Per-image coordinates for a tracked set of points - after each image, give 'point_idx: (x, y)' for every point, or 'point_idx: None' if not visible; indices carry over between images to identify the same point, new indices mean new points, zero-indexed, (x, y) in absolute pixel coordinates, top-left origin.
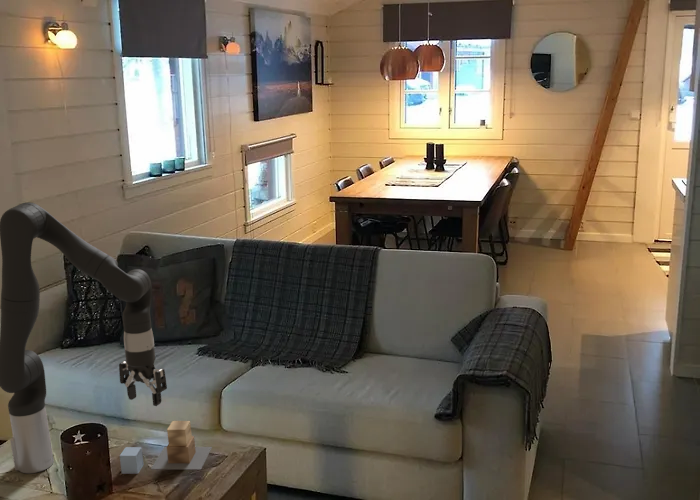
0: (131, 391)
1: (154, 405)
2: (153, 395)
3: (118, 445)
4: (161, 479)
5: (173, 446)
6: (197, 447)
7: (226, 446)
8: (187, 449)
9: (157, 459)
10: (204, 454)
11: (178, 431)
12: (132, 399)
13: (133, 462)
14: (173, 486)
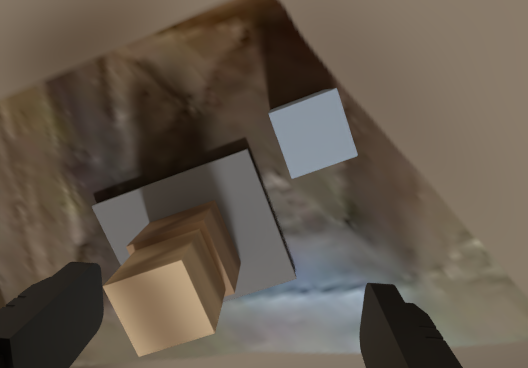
0: (386, 349)
1: (79, 262)
2: (3, 321)
3: (464, 243)
4: (183, 122)
5: (180, 231)
6: None
7: (126, 346)
8: (132, 241)
9: (265, 206)
10: None
11: (135, 272)
12: (364, 296)
13: (281, 107)
14: (118, 101)
